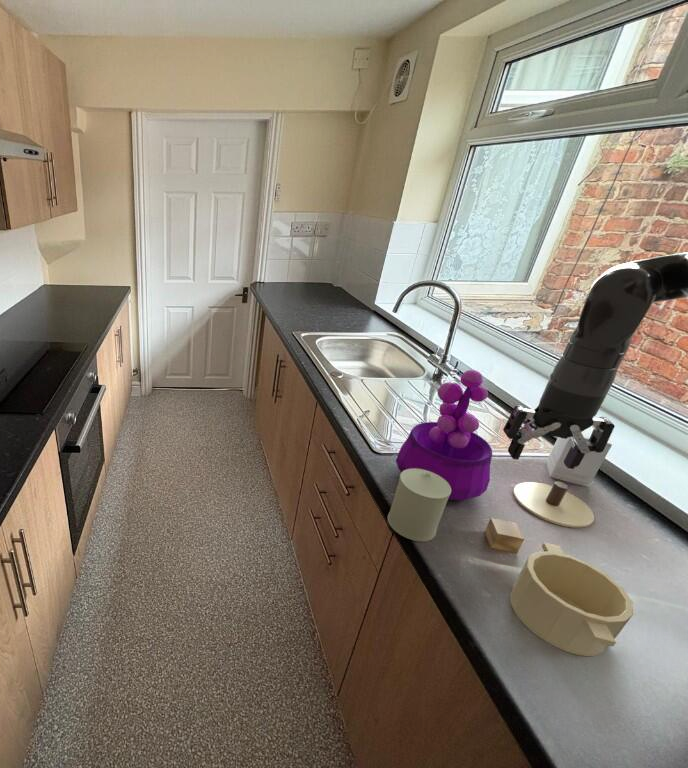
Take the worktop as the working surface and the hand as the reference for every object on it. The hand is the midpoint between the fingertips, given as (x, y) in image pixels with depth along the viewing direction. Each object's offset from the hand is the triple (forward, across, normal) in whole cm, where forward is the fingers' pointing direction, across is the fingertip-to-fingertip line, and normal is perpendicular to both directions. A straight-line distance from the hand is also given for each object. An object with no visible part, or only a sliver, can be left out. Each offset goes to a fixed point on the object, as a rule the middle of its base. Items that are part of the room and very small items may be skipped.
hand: (540, 461), depth 78 cm
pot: (+18, +2, -19) cm, 26 cm away
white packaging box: (+18, +20, +26) cm, 37 cm away
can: (+19, -18, -4) cm, 26 cm away
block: (+18, -2, -4) cm, 19 cm away
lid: (+18, +12, +12) cm, 24 cm away
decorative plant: (+19, -11, +13) cm, 25 cm away
